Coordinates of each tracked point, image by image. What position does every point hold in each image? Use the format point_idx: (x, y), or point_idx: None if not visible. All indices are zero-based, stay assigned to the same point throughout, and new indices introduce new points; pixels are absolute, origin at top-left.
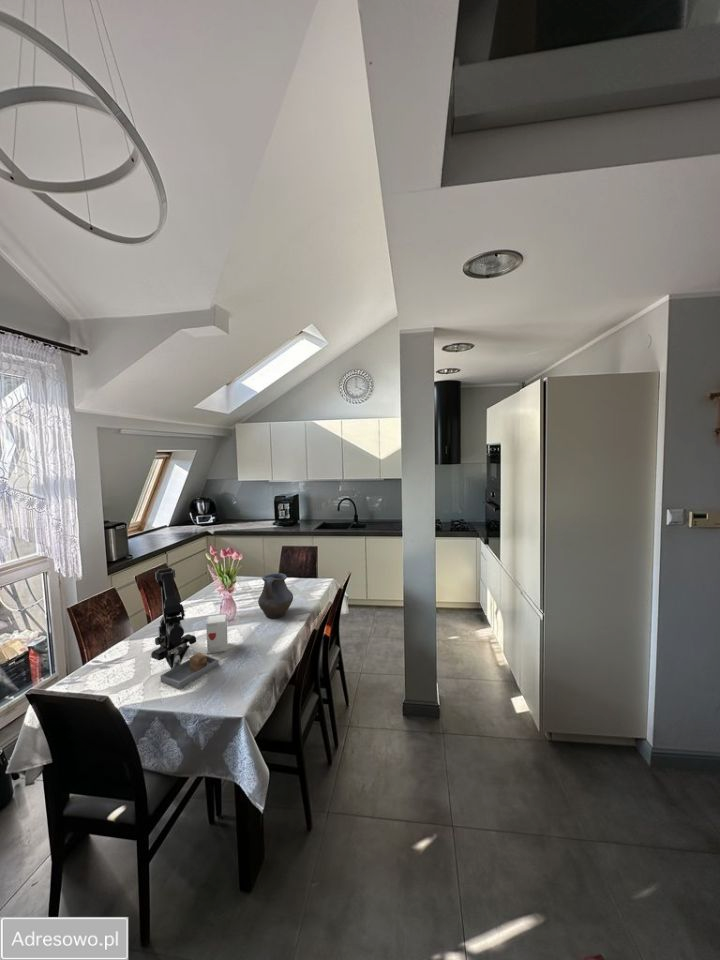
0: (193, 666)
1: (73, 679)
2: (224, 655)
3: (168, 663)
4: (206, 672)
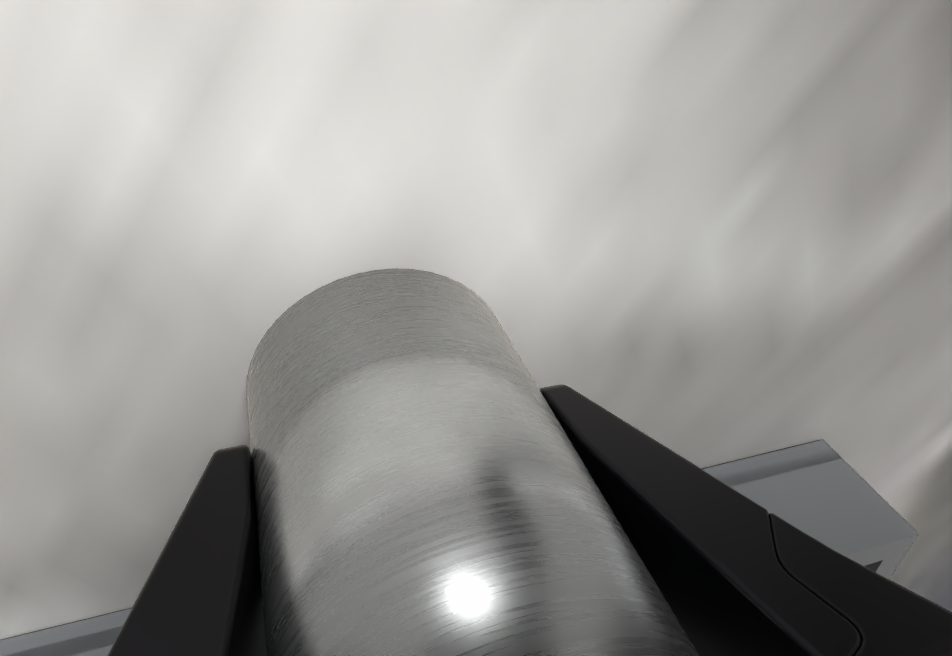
0: None
1: None
2: (933, 556)
3: (153, 599)
4: None
